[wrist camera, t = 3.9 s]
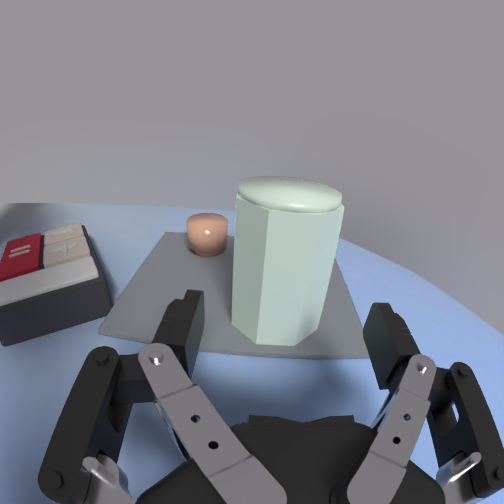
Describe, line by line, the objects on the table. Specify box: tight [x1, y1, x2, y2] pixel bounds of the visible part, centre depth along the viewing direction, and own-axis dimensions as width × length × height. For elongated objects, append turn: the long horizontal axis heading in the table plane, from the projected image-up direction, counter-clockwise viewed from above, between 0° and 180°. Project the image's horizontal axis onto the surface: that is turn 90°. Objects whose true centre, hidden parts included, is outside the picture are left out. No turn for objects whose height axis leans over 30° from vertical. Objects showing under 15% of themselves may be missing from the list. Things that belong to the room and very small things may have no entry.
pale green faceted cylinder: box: [231, 176, 344, 346], centre depth 20 cm, size 6×6×10 cm
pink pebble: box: [187, 213, 228, 257], centre depth 30 cm, size 4×4×3 cm
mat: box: [98, 232, 370, 359], centre depth 27 cm, size 20×18×1 cm
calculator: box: [0, 223, 113, 346], centre depth 23 cm, size 11×4×15 cm
